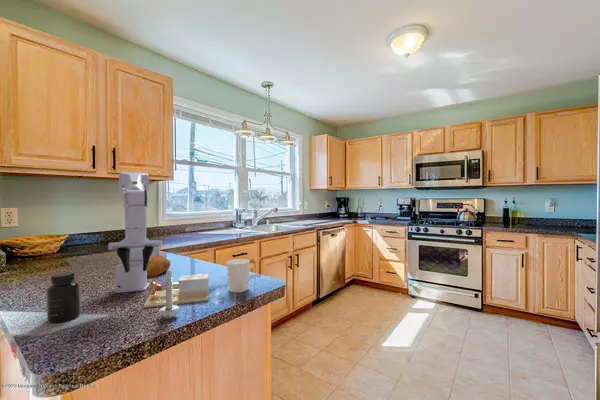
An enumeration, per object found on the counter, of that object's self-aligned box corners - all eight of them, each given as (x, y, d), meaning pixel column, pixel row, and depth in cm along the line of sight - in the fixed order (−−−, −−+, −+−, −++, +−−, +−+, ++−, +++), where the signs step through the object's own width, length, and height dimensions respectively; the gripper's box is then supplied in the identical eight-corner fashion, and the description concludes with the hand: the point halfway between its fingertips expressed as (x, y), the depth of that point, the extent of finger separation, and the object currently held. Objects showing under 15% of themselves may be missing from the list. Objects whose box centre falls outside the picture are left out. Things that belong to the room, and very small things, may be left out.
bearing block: (143, 307, 82) (143, 287, 82) (153, 292, 95) (153, 275, 95) (208, 300, 87) (208, 281, 87) (208, 287, 100) (208, 270, 100)
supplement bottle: (60, 313, 78) (59, 270, 78) (86, 312, 78) (85, 270, 78) (39, 324, 71) (39, 277, 71) (67, 323, 72) (67, 277, 72)
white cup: (253, 287, 100) (253, 259, 100) (242, 294, 93) (242, 264, 93) (234, 285, 103) (234, 258, 103) (222, 291, 95) (222, 262, 95)
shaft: (150, 296, 86) (149, 284, 86) (152, 292, 90) (152, 280, 90) (188, 292, 90) (188, 280, 90) (189, 289, 94) (189, 277, 94)
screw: (173, 320, 73) (155, 320, 73) (182, 313, 78) (165, 312, 78) (173, 271, 73) (155, 271, 73) (181, 266, 78) (164, 266, 78)
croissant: (175, 273, 128) (176, 255, 129) (156, 278, 112) (158, 258, 113) (144, 272, 128) (146, 254, 129) (122, 277, 113) (124, 257, 114)
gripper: (104, 230, 81) (104, 276, 81) (159, 228, 85) (159, 272, 85) (112, 227, 88) (112, 270, 88) (163, 226, 92) (163, 266, 92)
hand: (136, 271), depth 87 cm, fingers open, 4 cm apart
